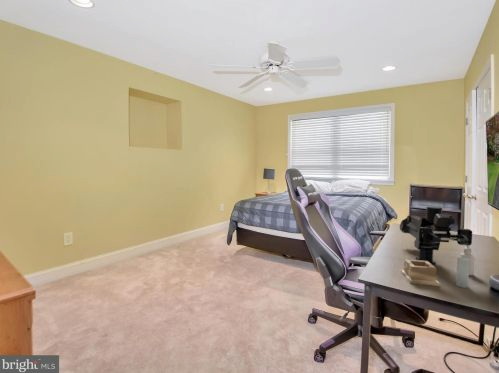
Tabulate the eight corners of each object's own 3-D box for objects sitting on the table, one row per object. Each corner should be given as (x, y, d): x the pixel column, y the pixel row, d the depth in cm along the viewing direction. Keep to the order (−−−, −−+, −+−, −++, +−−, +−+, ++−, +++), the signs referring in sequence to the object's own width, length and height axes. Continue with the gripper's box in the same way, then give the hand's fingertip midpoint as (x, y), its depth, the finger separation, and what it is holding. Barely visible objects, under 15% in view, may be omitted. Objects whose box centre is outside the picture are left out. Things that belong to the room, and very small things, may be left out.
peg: (454, 283, 105) (455, 257, 104) (464, 284, 104) (466, 258, 103) (458, 287, 102) (460, 261, 101) (469, 288, 101) (471, 261, 100)
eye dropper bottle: (460, 274, 113) (462, 246, 112) (458, 270, 118) (460, 242, 117) (474, 276, 111) (476, 247, 110) (471, 271, 116) (473, 244, 115)
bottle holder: (400, 271, 117) (401, 257, 116) (427, 273, 114) (427, 259, 114) (410, 283, 105) (411, 268, 105) (440, 286, 103) (440, 270, 102)
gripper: (412, 212, 119) (427, 219, 104) (462, 213, 115) (484, 221, 100) (411, 237, 120) (425, 247, 105) (460, 239, 116) (482, 251, 101)
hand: (454, 241), depth 103 cm, fingers open, 9 cm apart
